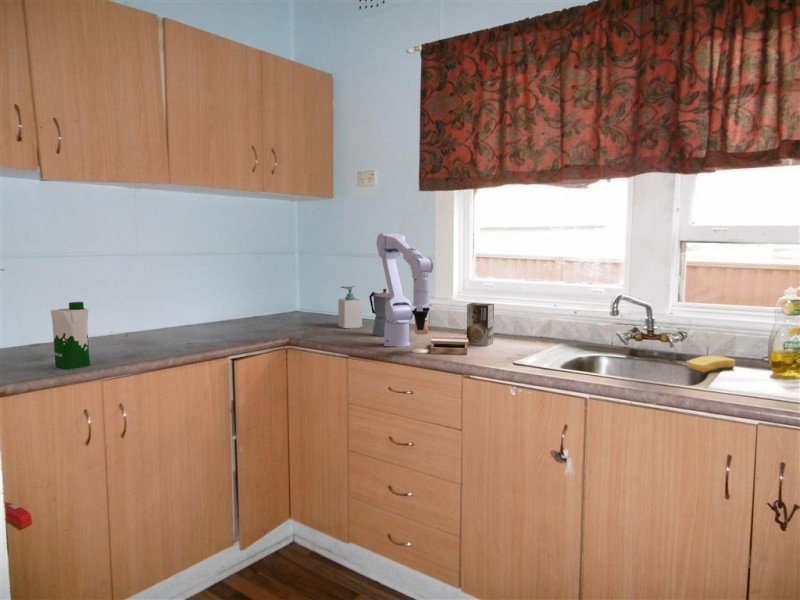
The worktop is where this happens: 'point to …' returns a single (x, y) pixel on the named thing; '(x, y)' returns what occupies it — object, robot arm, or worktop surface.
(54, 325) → the milk carton
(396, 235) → the robot arm
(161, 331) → the worktop surface
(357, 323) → the soap bottle
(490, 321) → the coffee box
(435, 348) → the cold frame
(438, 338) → the lid
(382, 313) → the moka pot
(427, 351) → the saucer
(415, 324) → the pot
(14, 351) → the worktop surface
